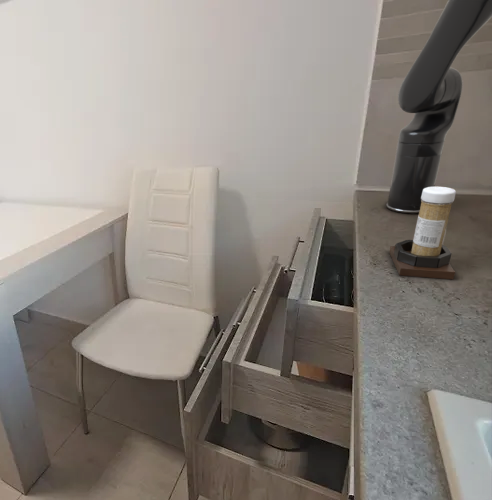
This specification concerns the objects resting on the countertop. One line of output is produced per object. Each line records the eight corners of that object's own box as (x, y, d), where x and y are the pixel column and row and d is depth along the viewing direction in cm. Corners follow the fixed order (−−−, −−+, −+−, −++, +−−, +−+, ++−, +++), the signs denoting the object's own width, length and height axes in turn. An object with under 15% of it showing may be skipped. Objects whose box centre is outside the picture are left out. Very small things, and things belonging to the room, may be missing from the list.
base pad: (389, 252, 76) (392, 236, 74) (437, 255, 73) (440, 239, 71) (399, 275, 67) (402, 258, 66) (453, 279, 64) (458, 261, 63)
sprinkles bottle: (443, 258, 68) (461, 188, 63) (432, 266, 66) (449, 194, 61) (415, 251, 72) (430, 184, 66) (404, 259, 70) (418, 190, 64)
